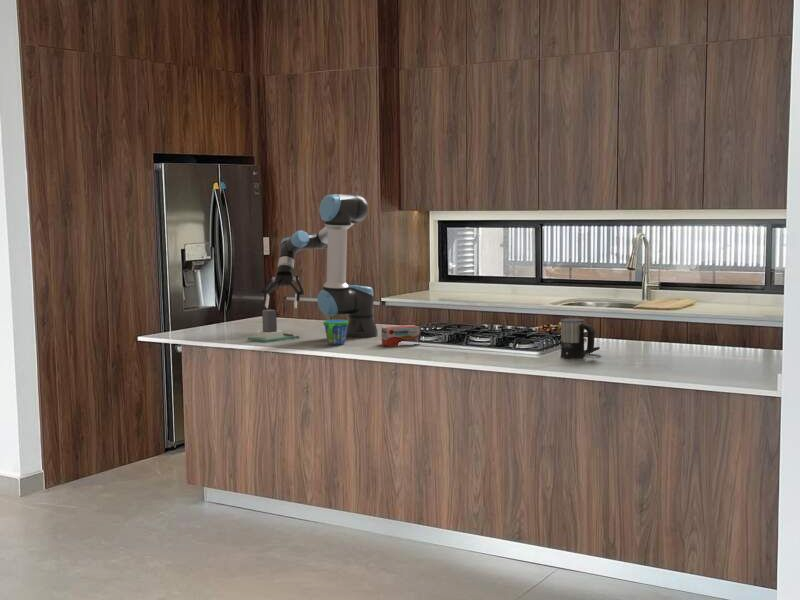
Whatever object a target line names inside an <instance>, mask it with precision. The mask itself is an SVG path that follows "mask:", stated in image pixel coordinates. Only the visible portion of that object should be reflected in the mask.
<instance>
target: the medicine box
mask: <svg viewBox="0 0 800 600" xmlns="http://www.w3.org/2000/svg"><path fill="white" fill-rule="evenodd" d="M419 333H420V334H421V328H420V326H417V325H415V324H411V325H406V324H405V325H388V326H387V325H386V326H382V327H381V333H380V334H381V335H380V336H381V344H382V345H383V346H385V347H390V348H391V347H398V346H397V345H398V343H399V342H401V341H407V340H415V339H417V337H418V335H419Z"/></svg>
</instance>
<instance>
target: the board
mask: <svg viewBox="0 0 800 600" xmlns="http://www.w3.org/2000/svg"><path fill="white" fill-rule="evenodd" d="M294 338H298V339H300V335H297V334H293V332H291V331H290V332H288V331H283V330H278V329H277V332H270V333H267V332H263V330H257V331H256V335H252V336H248V337H247V339H251V340H250V341H254V340H256V341H255V342H259V341H262V342H261V343H265V342H267V343H272V342H271V341H275V342H280V341H279V340H283V341H287V340H286V339H291V340H295V339H294Z"/></svg>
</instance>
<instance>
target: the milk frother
mask: <svg viewBox="0 0 800 600" xmlns="http://www.w3.org/2000/svg"><path fill="white" fill-rule="evenodd" d="M584 321H585V319H583V318H563V319H560V322H561V336H560V337H561V338H560V340H561V343H560V344H561V345H560V347H561V348H560V358H562V359H567V358H578V359H582V358H583V357H584V358H585V355H591V354H593V353H594V352H596V351H598V350H600V348H601V347H600V346H598V347H597V346H595V335H596V334H595V333H596V331H595V329H594V327H593V326H592V325H590V324H588V323H584ZM584 329H585V330H586V331H587V332H586V333H587V337H586V338H587V339H586V340H587V342H586V344H587V345H586V349H585V332H584ZM590 353H591V354H590Z"/></svg>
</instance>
